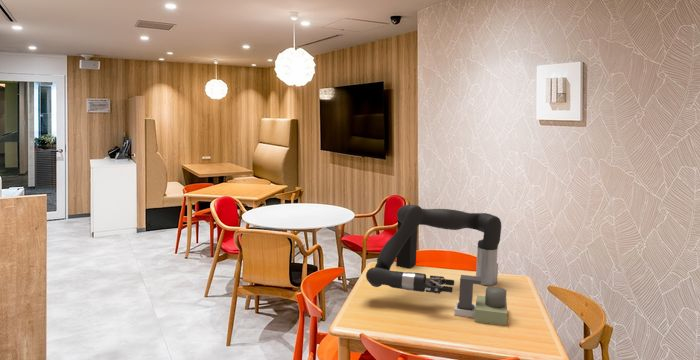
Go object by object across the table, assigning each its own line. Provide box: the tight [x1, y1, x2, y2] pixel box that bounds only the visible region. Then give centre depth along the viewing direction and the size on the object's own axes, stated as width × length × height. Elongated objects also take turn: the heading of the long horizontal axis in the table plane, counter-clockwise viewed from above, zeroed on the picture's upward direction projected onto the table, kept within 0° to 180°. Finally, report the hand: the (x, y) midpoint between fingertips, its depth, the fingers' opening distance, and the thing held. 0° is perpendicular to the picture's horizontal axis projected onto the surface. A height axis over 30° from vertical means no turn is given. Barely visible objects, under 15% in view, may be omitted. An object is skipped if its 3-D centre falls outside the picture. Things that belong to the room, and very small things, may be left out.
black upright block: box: [396, 219, 418, 269], centre depth 268 cm, size 8×8×28 cm
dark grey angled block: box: [458, 274, 482, 311], centre depth 208 cm, size 8×5×15 cm, turn 74°
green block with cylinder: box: [453, 286, 508, 326], centre depth 207 cm, size 20×16×11 cm
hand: (453, 286), depth 209 cm, fingers open, 8 cm apart
